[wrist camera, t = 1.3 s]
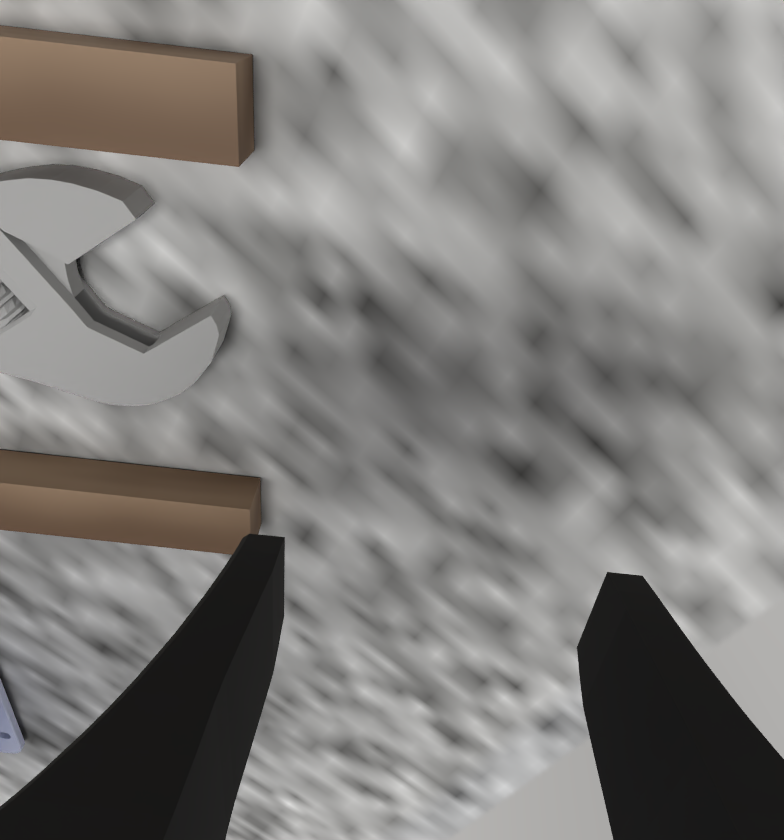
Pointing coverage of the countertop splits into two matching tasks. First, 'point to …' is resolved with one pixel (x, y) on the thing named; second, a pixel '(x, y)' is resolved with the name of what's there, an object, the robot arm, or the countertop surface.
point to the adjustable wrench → (86, 294)
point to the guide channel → (146, 136)
